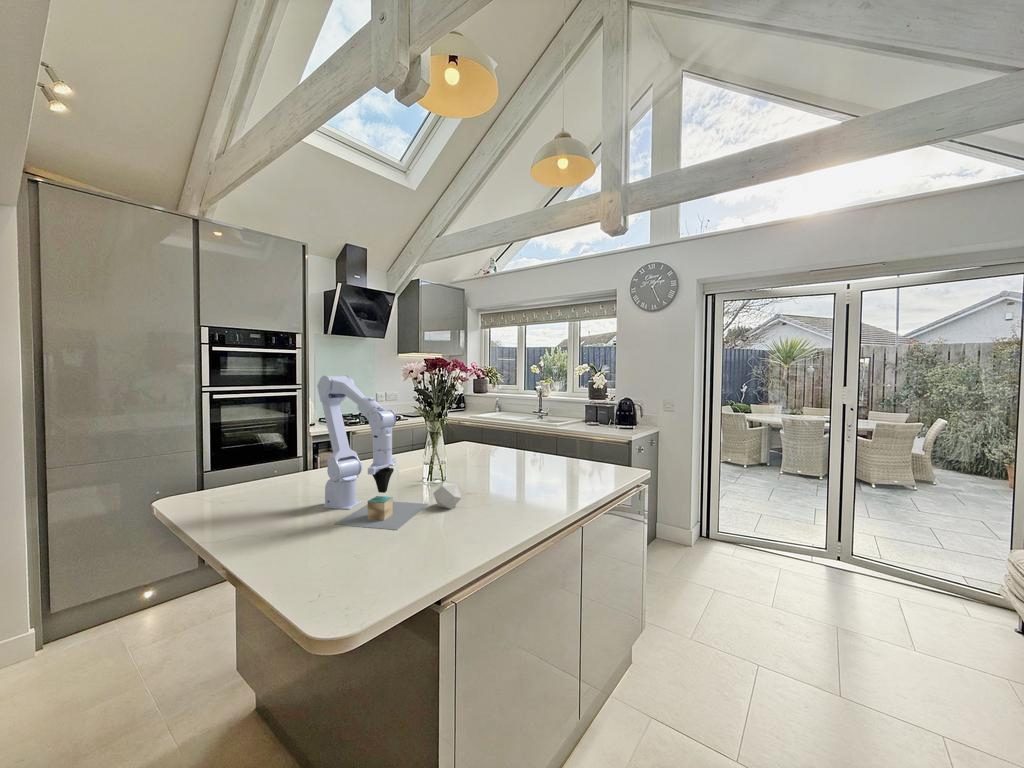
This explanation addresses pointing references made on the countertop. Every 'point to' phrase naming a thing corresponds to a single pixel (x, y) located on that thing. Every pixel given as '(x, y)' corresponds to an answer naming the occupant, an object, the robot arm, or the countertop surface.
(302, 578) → the countertop surface
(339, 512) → the countertop surface
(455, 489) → the die
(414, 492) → the countertop surface
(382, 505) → the oak block
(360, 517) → the rubber mat
